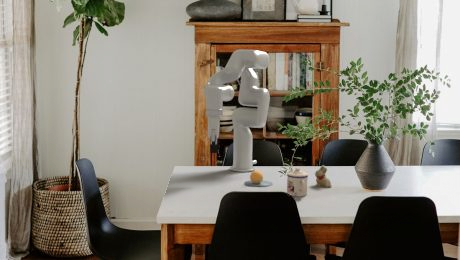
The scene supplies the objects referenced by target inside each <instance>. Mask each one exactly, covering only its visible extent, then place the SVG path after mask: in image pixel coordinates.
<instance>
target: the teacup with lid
mask: <svg viewBox="0 0 460 260" xmlns="http://www.w3.org/2000/svg"><path fill="white" fill-rule="evenodd" d="M286 177H287V181H286V183H287V184H286V190H287V191H286V194H287V193H289V194H291V195H292V196H291V197H305V196H307V194H308V179H309V178H308V177H309V174H308V173H307V172H305V171H304V170H301V168H300V167H296V168H295V169H293V170H291V171H288V172H287V174H286Z"/></svg>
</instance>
